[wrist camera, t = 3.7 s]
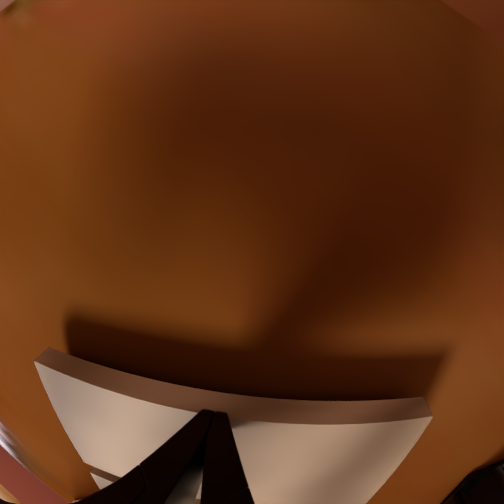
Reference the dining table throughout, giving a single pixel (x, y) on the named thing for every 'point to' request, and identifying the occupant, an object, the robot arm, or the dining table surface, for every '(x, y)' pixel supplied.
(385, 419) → the plank
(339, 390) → the dining table surface
